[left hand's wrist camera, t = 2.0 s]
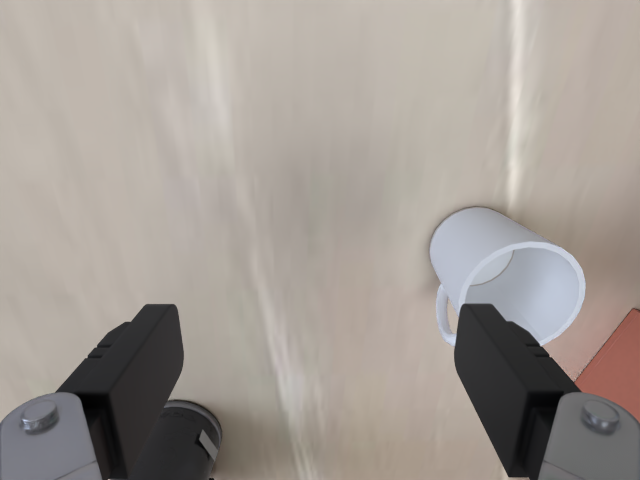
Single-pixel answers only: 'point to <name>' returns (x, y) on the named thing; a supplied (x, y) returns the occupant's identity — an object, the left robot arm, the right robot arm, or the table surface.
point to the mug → (505, 273)
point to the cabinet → (617, 367)
